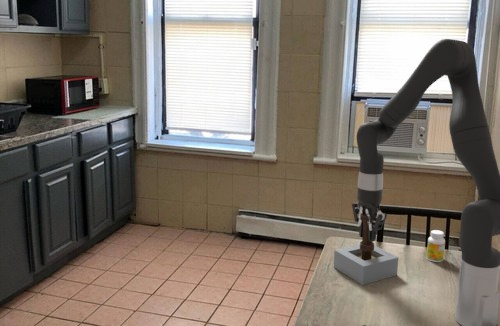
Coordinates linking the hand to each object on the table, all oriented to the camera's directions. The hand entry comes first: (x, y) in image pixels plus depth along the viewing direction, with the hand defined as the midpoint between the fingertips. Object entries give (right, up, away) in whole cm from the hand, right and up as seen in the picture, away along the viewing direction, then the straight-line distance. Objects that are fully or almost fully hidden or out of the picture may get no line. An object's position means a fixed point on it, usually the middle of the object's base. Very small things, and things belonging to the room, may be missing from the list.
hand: (367, 238), depth 165 cm
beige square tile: (0, -8, +2) cm, 9 cm away
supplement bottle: (+25, -9, +12) cm, 30 cm away
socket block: (0, -11, +3) cm, 11 cm away
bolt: (0, -7, +2) cm, 7 cm away
